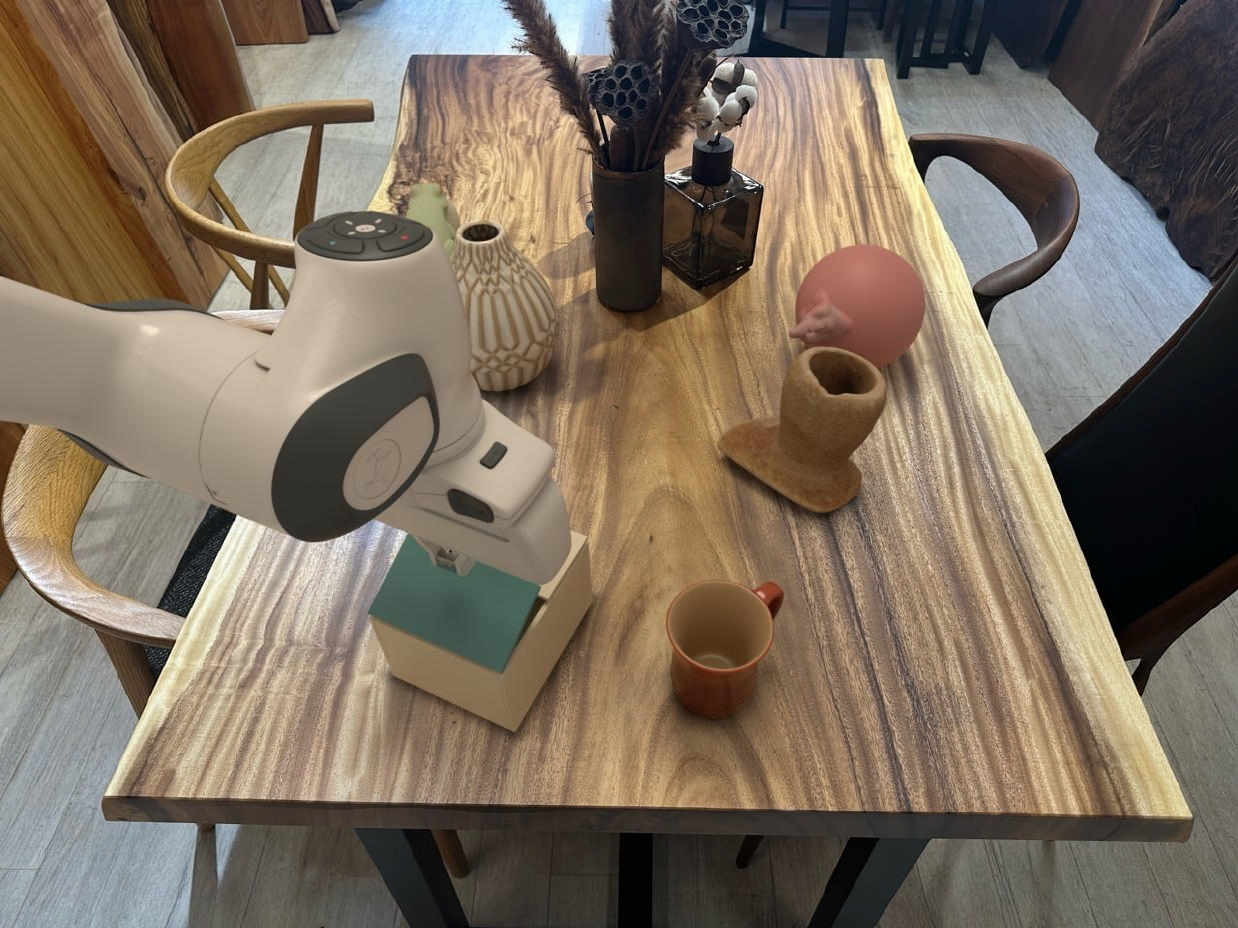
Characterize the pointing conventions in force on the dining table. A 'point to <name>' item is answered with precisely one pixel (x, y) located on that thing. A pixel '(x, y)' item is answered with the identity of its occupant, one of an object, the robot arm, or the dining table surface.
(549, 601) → the carton
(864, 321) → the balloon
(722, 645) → the mug
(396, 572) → the flap
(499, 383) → the vase
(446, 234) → the figurine
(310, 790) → the dining table surface
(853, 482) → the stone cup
